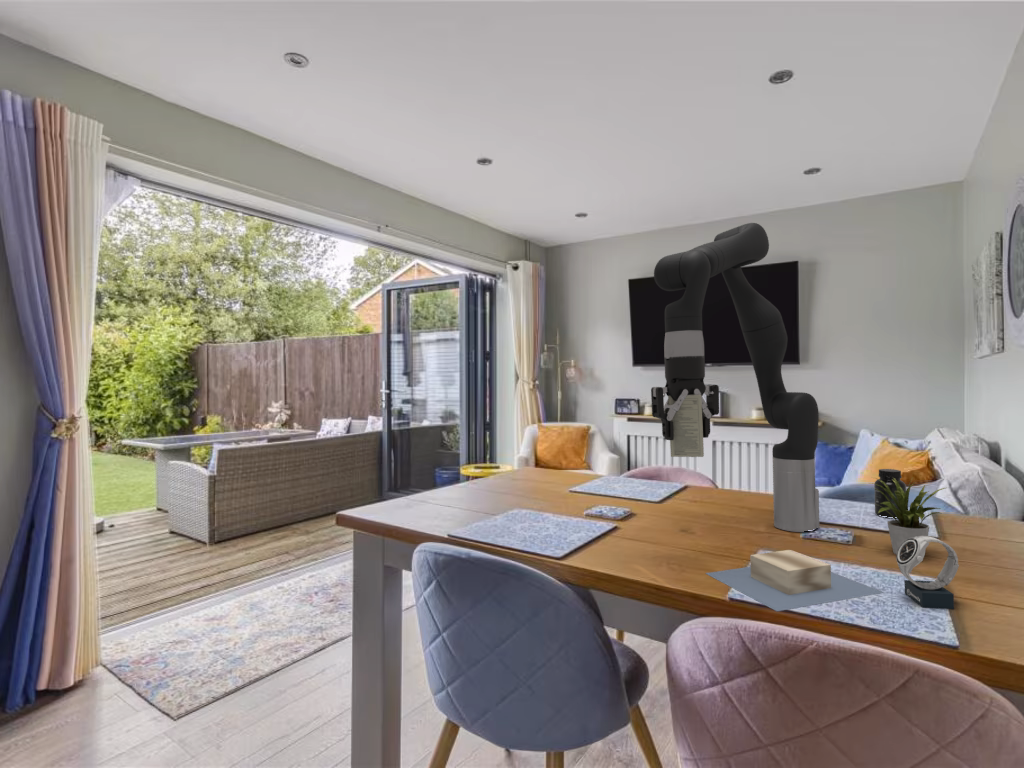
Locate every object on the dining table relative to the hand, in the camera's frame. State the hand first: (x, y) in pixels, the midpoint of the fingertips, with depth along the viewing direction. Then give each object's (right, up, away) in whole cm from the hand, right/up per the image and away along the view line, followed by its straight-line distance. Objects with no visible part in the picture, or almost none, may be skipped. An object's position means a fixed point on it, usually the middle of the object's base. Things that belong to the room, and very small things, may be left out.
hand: (686, 438), depth 108 cm
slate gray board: (+15, -25, -11) cm, 31 cm away
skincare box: (0, -4, 0) cm, 4 cm away
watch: (+32, -25, -20) cm, 46 cm away
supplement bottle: (+65, -24, +36) cm, 78 cm away
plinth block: (+15, -24, -11) cm, 31 cm away
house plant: (+46, -25, +6) cm, 53 cm away
